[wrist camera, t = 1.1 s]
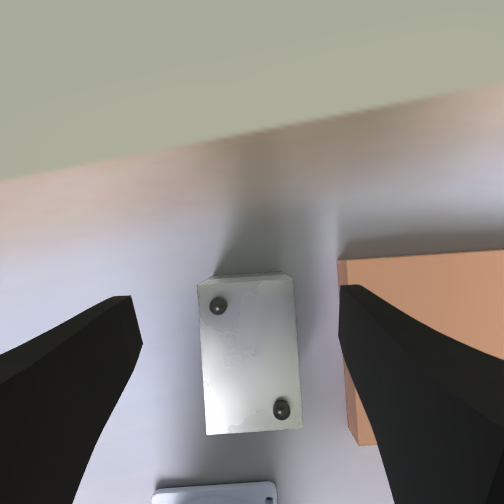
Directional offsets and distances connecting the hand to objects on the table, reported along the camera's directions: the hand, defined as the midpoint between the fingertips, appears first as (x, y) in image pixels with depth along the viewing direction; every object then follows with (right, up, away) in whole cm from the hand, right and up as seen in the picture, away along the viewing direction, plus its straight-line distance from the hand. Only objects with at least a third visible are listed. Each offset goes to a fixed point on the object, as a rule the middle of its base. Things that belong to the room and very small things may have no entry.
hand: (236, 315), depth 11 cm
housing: (0, -3, +10) cm, 10 cm away
